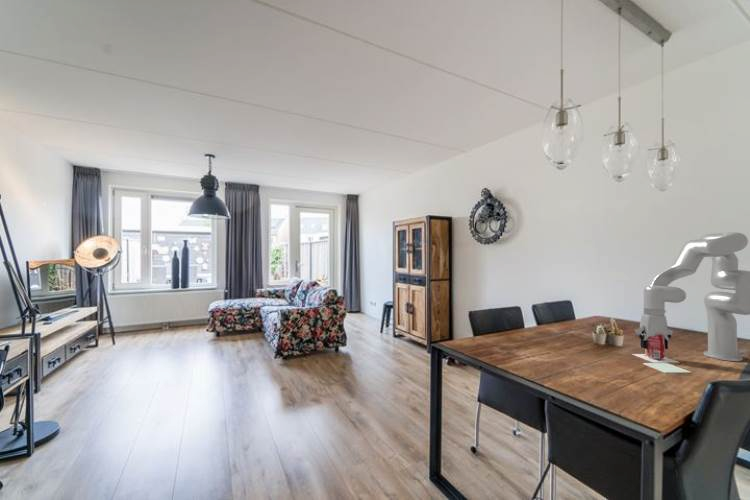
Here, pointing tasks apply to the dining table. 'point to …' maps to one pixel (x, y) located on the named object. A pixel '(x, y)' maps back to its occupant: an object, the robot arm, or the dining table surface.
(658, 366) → the mat
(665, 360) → the tile
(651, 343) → the soda can
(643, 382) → the dining table surface
